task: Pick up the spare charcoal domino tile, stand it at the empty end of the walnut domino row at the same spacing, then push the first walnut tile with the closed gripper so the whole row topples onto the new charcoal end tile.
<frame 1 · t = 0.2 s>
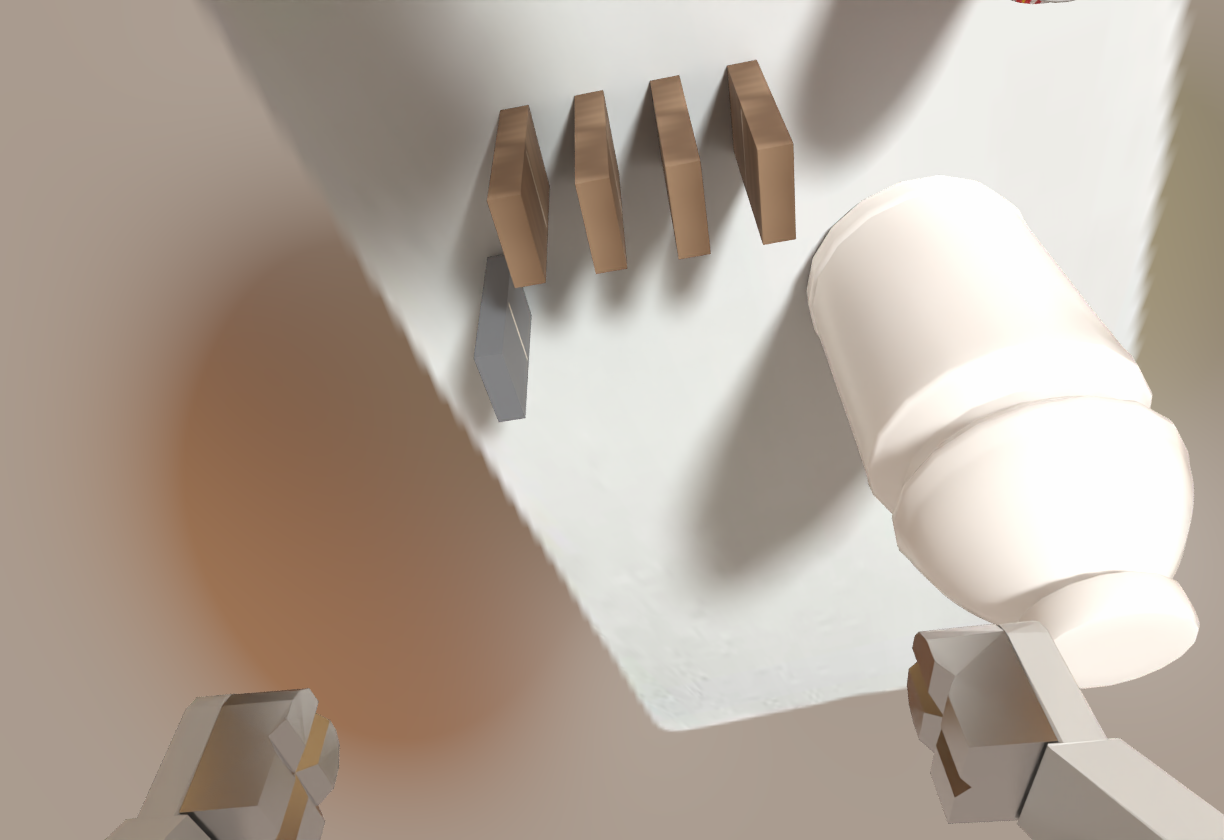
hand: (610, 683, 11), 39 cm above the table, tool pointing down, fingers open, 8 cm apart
domino 4: (525, 149, 46), on the table
domino 1: (744, 107, 45), on the table
bottle: (908, 266, 53), on the table
domino 3: (597, 136, 46), on the table
domino 2: (670, 122, 46), on the table
end domino: (510, 287, 53), on the table
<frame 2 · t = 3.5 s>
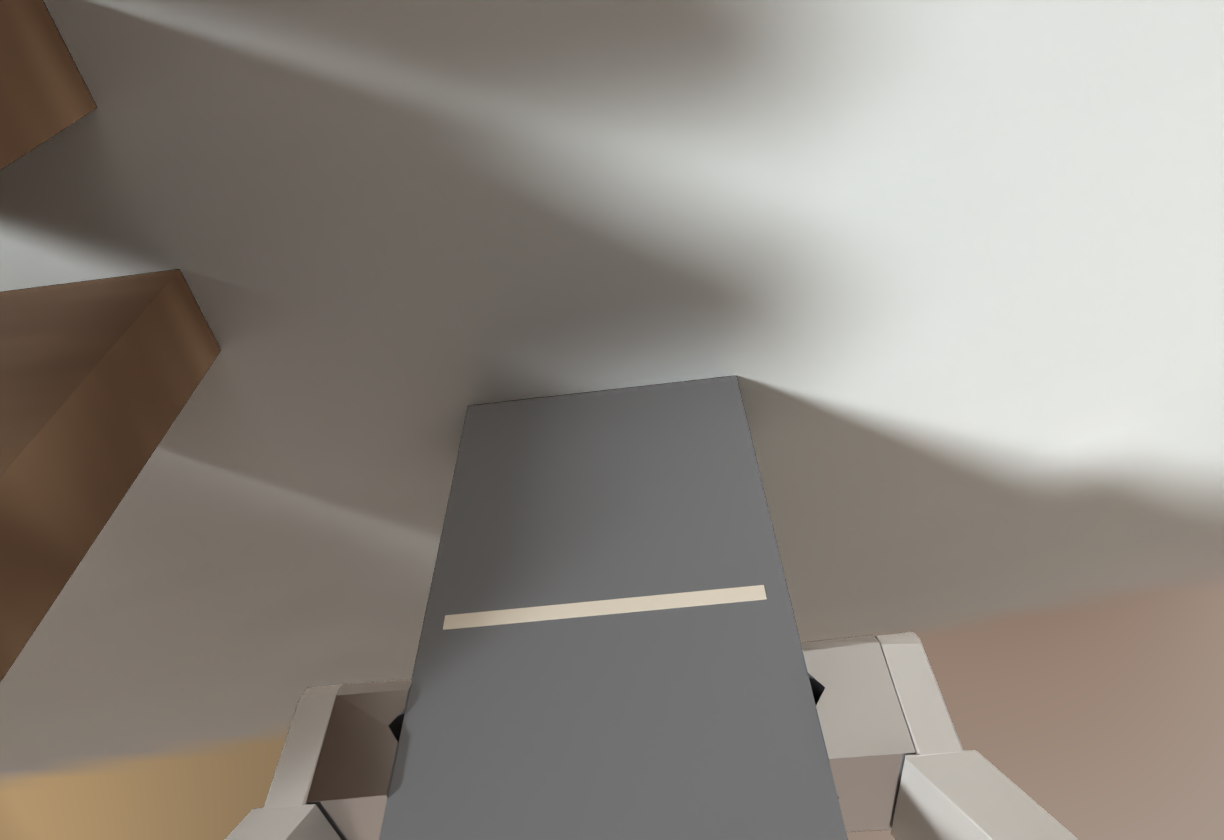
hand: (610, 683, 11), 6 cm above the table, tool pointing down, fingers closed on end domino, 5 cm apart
domino 4: (61, 328, 14), on the table
end domino: (606, 424, 15), on the table, touching gripper
when the fingers open (7 cm above the table, at t = 9.4 s): end domino stays where it is, on the table.
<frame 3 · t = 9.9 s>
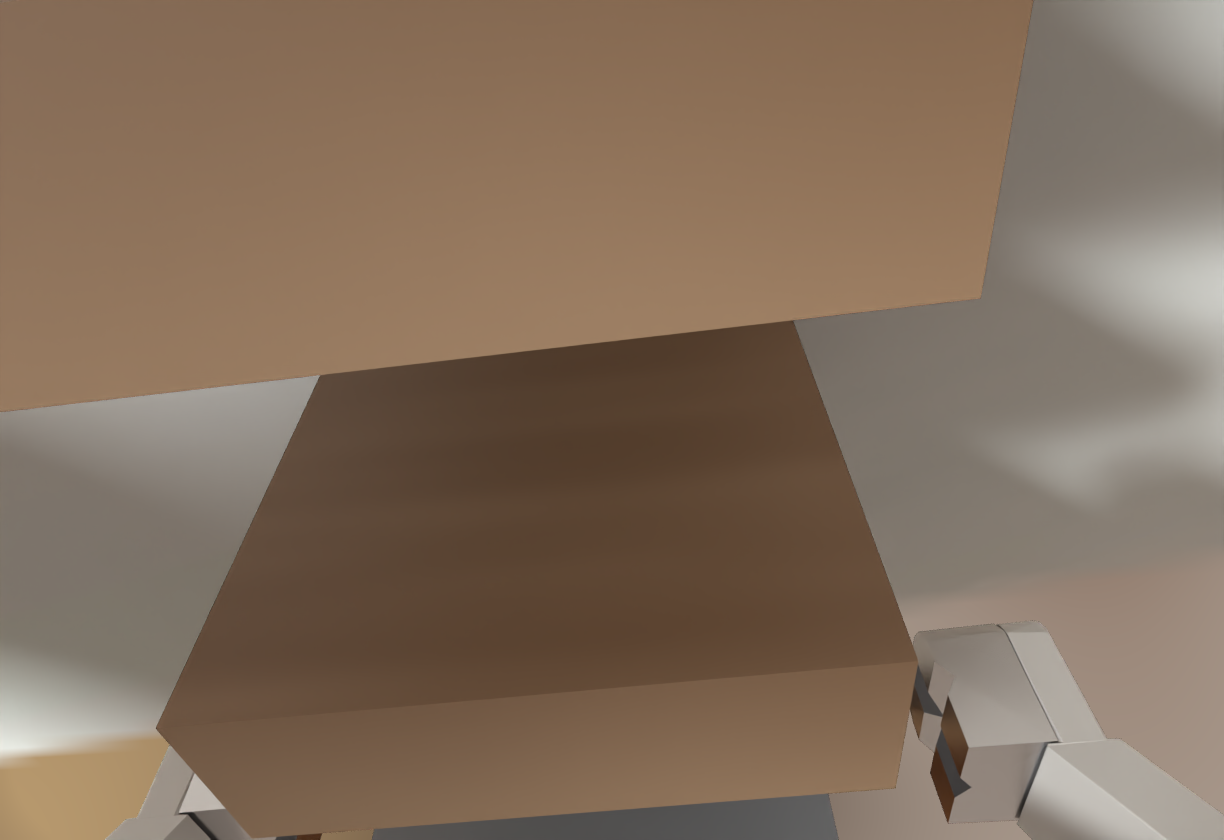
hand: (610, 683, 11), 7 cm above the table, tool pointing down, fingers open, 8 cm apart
domino 4: (574, 195, 14), on the table
end domino: (602, 395, 16), on the table
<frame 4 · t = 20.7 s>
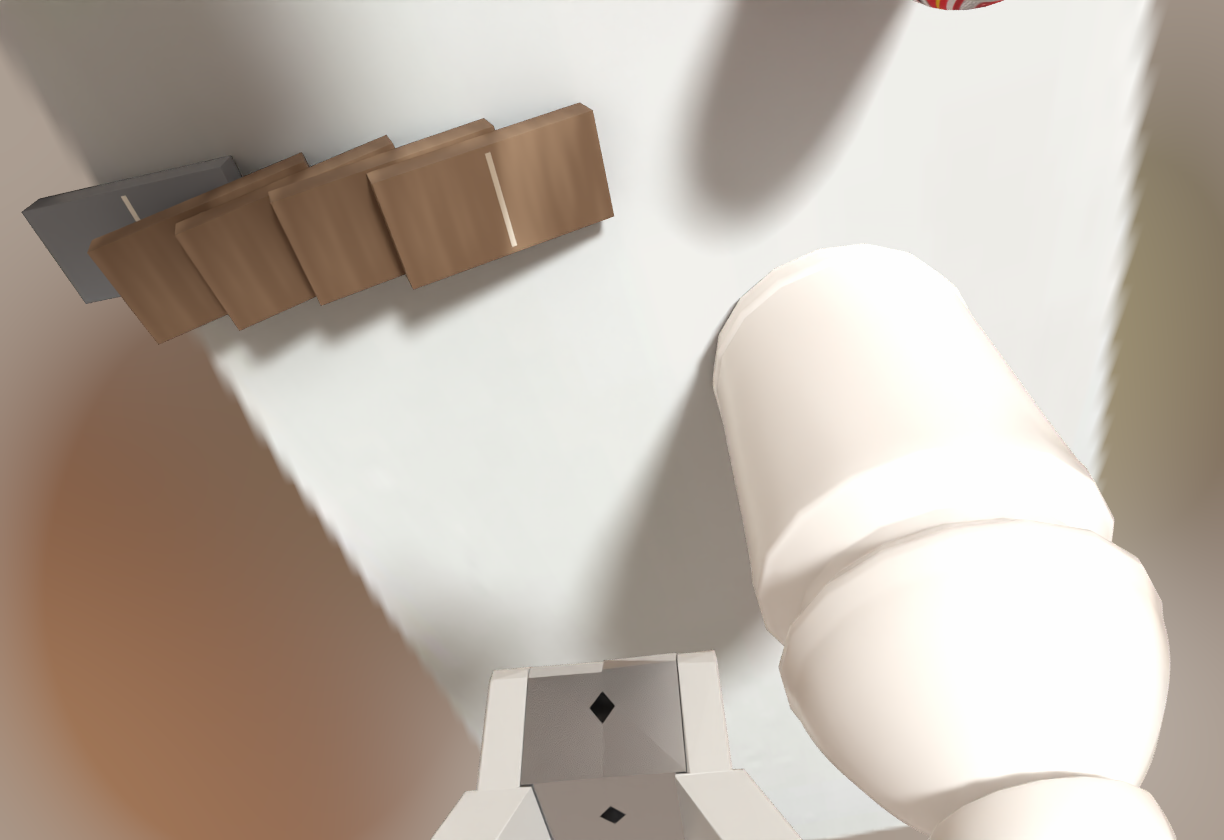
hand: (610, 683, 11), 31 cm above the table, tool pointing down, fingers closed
domino 4: (329, 206, 38), point 1 cm above the table, tilted 69°, touching domino 3, end domino
domino 1: (597, 160, 37), point 1 cm above the table, tilted 68°, touching domino 2
bottle: (833, 350, 45), on the table
domino 3: (412, 189, 38), point 1 cm above the table, tilted 67°, touching domino 2, domino 4
domino 2: (504, 175, 38), point 1 cm above the table, tilted 67°, touching domino 1, domino 3
end domino: (252, 210, 39), point 1 cm above the table, tilted 90°, touching domino 4
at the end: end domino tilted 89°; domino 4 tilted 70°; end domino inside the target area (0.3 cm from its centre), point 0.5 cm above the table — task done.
